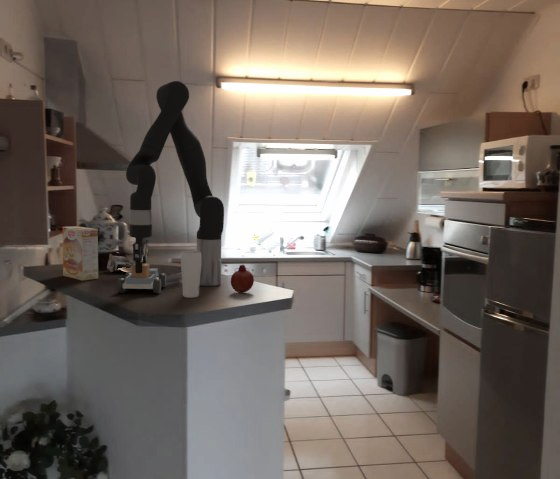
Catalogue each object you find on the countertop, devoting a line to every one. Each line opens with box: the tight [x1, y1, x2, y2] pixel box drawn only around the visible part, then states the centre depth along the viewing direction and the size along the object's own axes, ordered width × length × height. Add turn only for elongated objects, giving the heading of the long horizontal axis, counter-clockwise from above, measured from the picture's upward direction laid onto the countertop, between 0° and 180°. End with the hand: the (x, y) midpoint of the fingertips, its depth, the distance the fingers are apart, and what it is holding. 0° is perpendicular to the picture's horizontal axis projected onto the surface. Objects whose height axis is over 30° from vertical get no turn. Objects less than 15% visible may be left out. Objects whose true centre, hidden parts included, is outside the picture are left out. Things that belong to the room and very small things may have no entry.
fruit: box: [230, 264, 255, 294], centre depth 186 cm, size 8×8×10 cm
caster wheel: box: [106, 253, 134, 273], centre depth 223 cm, size 7×11×10 cm
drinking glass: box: [180, 250, 201, 299], centre depth 178 cm, size 7×7×15 cm
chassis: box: [116, 267, 167, 294], centre depth 187 cm, size 14×16×6 cm
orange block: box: [132, 262, 151, 278], centre depth 184 cm, size 5×5×6 cm
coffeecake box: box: [61, 226, 99, 282], centre depth 208 cm, size 15×7×20 cm, turn 49°
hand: (140, 271), depth 184 cm, fingers open, 6 cm apart
